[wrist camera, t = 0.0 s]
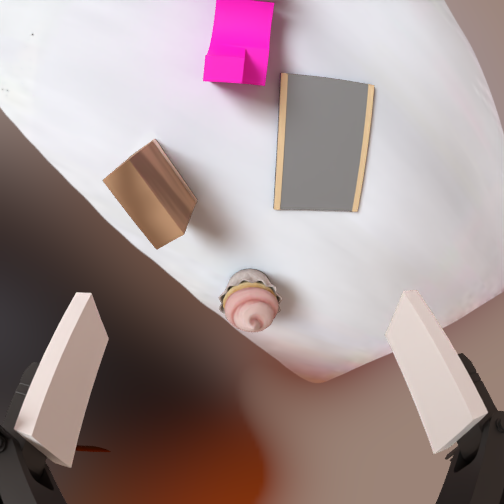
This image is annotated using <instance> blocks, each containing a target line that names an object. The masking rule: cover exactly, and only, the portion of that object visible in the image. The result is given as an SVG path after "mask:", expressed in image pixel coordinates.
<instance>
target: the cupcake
mask: <svg viewBox="0 0 504 504" xmlns="http://www.w3.org/2000/svg"><path fill="white" fill-rule="evenodd" d="M276 290H277V288H276V286H274V285H272V284H271V283H270V281H269V279H268V278H267V277H266V275H265V274H263V273H262V272H260V271H258V270H255V269H244V270H240V271H238V272H237V273H235V274H234V275H233V276H232V277H231V279H230V280H229V283H228V285H227V287H226V289H225V291H224V292H223V293H222V294H221V295H220V296H219V300H220V302H221V305H220V307H219V310H220V311H221V312H222V313H224V314H225V316H226V319H227V320H229V322H230V323H231V324H232V325H233V326H235V327H236V328H238V329H240V330H243V331H247V332H259V331H263V330H264V329H266V328H267V327H268V326H269V325H271V323H272V321H273V319H274V318H275V316H276V314H277V313H278V312H280V307H279V305H278V304H279V303H280V302H281V301H282V299H283V298H282V297H281V296H280V295H279V294H278V293H277V292H276Z"/></svg>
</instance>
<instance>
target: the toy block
mask: <svg viewBox="0 0 504 504" xmlns="http://www.w3.org/2000/svg"><path fill="white" fill-rule="evenodd" d="M273 8H274V3H271V2H263V1H253V0H216V10H215V18H214V26H213V32H212V38H211V43H210V47H209V50H208V53H207V55H206V56H205V66H204V76H203V81H210V82H228V83H241V84H252V85H262V86H265V81H266V73H267V65H268V57H269V43H270V31H271V22H272V15H273Z"/></svg>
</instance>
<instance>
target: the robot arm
mask: <svg viewBox="0 0 504 504" xmlns="http://www.w3.org/2000/svg"><path fill="white" fill-rule="evenodd" d="M385 336H386V338H387V340H388V343H389V345H390V347H391V349H392V351H393V353H394V356H395V358H396V360H397V362H398V364H399V367H400V369H401V371H402V374H403V376H404V378H405V381H406V383H407V385H408V388H409V390H410V393H411V395H412V397H413V400H414V402H415V405H416V407H417V410H418V412H419V415H420V418H421V420H422V423H423V425H424V428H425V430H426V433H427V436H428V439H429V442H430V444H431V447H432V450H433V453H434V454H435V453H437V452H440V451H443V450H445V449H447V448H449V447H450V446H452V445H453V444H454V443H455V442H457V443H458V446H457V447H456V448H455V449H454V450H452V451H451V452H450V453H449V454H447V456H446V458H445V459H448V458H450V457H451V456H452V455H453V458H452V459H451V460H450V461H451V465H450V467H449V471H448V473H447V476H446V479H445V482H444V484H443V487H442V490H441V492H440V495H439V497H438V499H437V502H436V504H504V411H498V410H497V409H496V407H495V405H494V403H493V401H492V399H491V397H490V395H489V393H488V391H487V390H486V388H485V386H484V384H483V382H482V381H481V378H480V377H479V375H478V373H476V369H475V368H474V366H473V364H472V362H471V361H470V360H469V359H468V358H467V357H466V356H465V355H464V354H463V353H461V354H457V353H456V351H455V349H454V348H453V346H452V344H451V342H450V341H449V339H448V337H447V336H446V334H445V333H444V331H443V329H442V328H441V326H440V324H439V323H438V321H437V320H436V318H435V317H434V315H433V313H432V312H431V310H430V309H429V307H428V306H427V304H426V303H425V301H424V300H423V298H422V297H421V295H420V294H419V292H418V291H417V290H410V291H403V293H402V296H401V298H400V301H399V303H398V306H397V308H396V310H395V313H394V315H393V318H392V320H391V322H390V325H389V327H388V329H387V331H386V334H385ZM108 339H109V338H108V336H107V334H106V331H105V329H104V326H103V323H102V321H101V318H100V316H99V313H98V310H97V307H96V305H95V302H94V299H93V296H92V294H91V293H76V294H75V296H74V298H73V299H72V301H71V303H70V305H69V307H68V308H67V311H66V312H65V314H64V316H63V318H62V320H61V322H60V323H59V325H58V327H57V329H56V331H55V333H54V335H53V337H52V339H51V341H50V343H49V345H48V348H47V349H46V352H45V354H44V356H43V358H42V360H41V362H40V364H39V363H35V362H32V364H31V365H30V366H29V367H28V368H27V369H26V370H25V371H24V373H23V376H22V378H21V380H20V384H19V385H18V387H17V389H16V393H15V394H14V396H13V399H12V401H11V404H10V406H9V409H8V411H7V414H6V416H5V419H4V422H3V424H2V426H1V425H0V504H67V503H66V501H65V499H64V498H63V496H62V494H61V492H60V490H59V488H58V486H57V484H56V482H55V480H54V478H53V475H52V474H51V471H50V470H49V467H48V466H47V464H46V462H45V461H46V457H47V458H49V459H50V460H51V461H53V462H54V463H57V464H60V465H63V466H66V467H70V468H71V466H72V461H73V457H74V453H75V448H76V444H77V440H78V436H79V432H80V428H81V425H82V421H83V417H84V414H85V410H86V407H87V403H88V400H89V396H90V393H91V390H92V387H93V384H94V380H95V377H96V374H97V371H98V368H99V365H100V362H101V359H102V356H103V353H104V350H105V348H106V345H107V342H108Z"/></svg>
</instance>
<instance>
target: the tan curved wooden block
mask: <svg viewBox="0 0 504 504" xmlns="http://www.w3.org/2000/svg"><path fill="white" fill-rule="evenodd" d="M103 182H104V183H105V184H106V186H107V187H108V188H109V190H110V191H111V192H112V194H113V195H114V196H115V198H116V199H117V200H118V202H119V203H120V204H121V205H122V207H123V208H124V209H125V211H126V212H127V213H128V215H129V216H130V217H131V218H132V220H133V221H134V222H135V223H136V225H137V226H138V227H139V228H140V230H141V231H142V232H143V233H144V235H145V236H146V237H147V238H148V240H149V241H150V242H151V243H152V245H153V246H154V247H155V248H156V249H159V248H160V247H162V246H164V245H166V244H168V243H169V242H171V241H173V240H175V239H177V238H178V237H180V236H182V235H184V233H185V231H186V228H187V225H188V223H189V220H190V217H191V215H192V212H193V209H194V207H195V204H196V203H197V198H196V197H195V196H194V194H193V193H192V191H191V190H190V188H189V187H188V186H187V184H186V183H185V181H184V180H183V178H182V177H181V175H180V174H179V173H178V171H177V170H176V168H175V167H174V165H173V164H172V162H171V161H170V160H169V158H168V157H167V155H166V154H165V152H164V151H163V149H162V148H161V147H160V145H159V144H158V142H157V141H156V139H154V140H152V141H151V142H149V143H148V144H147V145H145V146H144V147H142V148H141V149H140V150H138V151H137V152H135V153H134V154H133V155H131V156H130V157H129V158H128V159H127V160H126V161H125V162H123V163H122V164H121V165H120V166H119V167H117V168H116V169H115V170H114V171H113V172H112V173H110V174H109V175H108V176H107V177H106V178H105V179H104V180H103Z"/></svg>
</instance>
